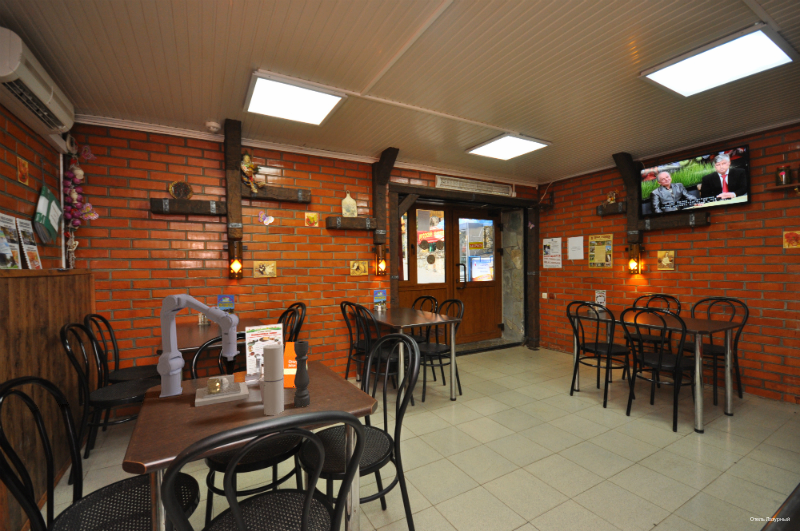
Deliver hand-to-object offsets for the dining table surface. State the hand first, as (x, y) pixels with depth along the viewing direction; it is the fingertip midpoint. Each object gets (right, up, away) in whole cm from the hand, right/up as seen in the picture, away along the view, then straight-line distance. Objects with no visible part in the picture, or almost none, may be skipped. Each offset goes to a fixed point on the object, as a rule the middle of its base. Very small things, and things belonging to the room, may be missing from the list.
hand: (229, 373), depth 158 cm
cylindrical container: (+26, -9, -20) cm, 34 cm away
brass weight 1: (-6, -6, -2) cm, 9 cm away
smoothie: (+20, -9, -10) cm, 24 cm away
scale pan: (-3, -7, -1) cm, 8 cm away
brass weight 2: (-3, -6, -6) cm, 9 cm away
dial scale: (-3, -9, -1) cm, 10 cm away
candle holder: (+35, -9, -13) cm, 39 cm away
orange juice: (+25, -9, +12) cm, 30 cm away
